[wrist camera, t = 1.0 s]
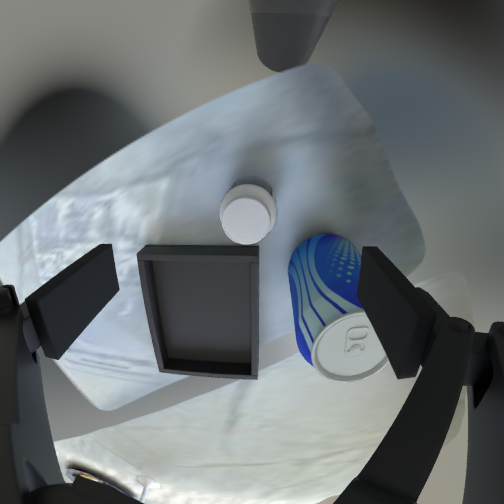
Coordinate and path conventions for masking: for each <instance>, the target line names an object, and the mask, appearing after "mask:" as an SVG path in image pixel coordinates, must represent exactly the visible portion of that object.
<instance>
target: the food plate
mask: <svg viewBox="0 0 504 504" xmlns="http://www.w3.org/2000/svg"><path fill="white" fill-rule="evenodd" d="M66 475H67V476H68V477H69V478H70V479H71V480H72V481H73V482H74V480H75V477H76V475H80V476H83V477H85V478H88V479H91V480H94V481H97V482H100V483H103V484H106V485H109V486H112V487H114V488H116V487H115V486H113V485H112V484H109V483H108V482H106V481H104V480H102V479H100V478H97V477H96V476H93V475H91V474H89V473H87V472H82V471H78V470H74V469H68V470H67V473H66ZM116 489H117V490H119V491H121V490H120V489H118V488H116ZM121 492H122V491H121ZM123 493H124V492H123ZM125 494H126V493H125ZM126 495H127V494H126ZM128 496H129V495H128Z"/></svg>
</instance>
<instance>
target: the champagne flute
mask: <svg viewBox="0 0 504 504" xmlns="http://www.w3.org/2000/svg"><path fill="white" fill-rule="evenodd" d="M136 480H137V481H138V482H139V483H140V484H141V485H143V486H144V488H143V491H142V494H141V498H140V502H142V503H144V500H145V497H146V493H147V490H148V488H156V487H159V486H160V485H159V484H158V483H157V482H156V481H154V480H152V479H150V478H147V477H142V476H137V477H136Z"/></svg>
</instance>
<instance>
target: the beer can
mask: <svg viewBox="0 0 504 504" xmlns="http://www.w3.org/2000/svg"><path fill="white" fill-rule="evenodd" d="M361 257H362V256H361V254H360V253H359V252H358V251H357V249H356V248H355V247H354V245H353V244H352V243H351V242H350V241H348V240H347V239H345V238H343V237H341V236H339V235H335V234H319V235H316V236H313V237H310V238H308V239H307V240H305V241H304V242H302V243H301V244H300V245H299V246H298V247H297V248H296V250H295V251H294V253H293V254H292V256H291V259H290V262H289V267H288V275H289V283H290V291H291V299H292V307H293V315H294V324H295V332H296V340H297V345H298V348H299V351H300V353H301V354H302V356H303V357H304V358H305V360H306V361H307V362H308V363H310V364H311V365H312V366H314V368H315V369H316V371H317V372H318V373H319V374H320V375H321V376H323V377H324V378H326V379H328V380H331V381H334V382H341V383H350V382H356V381H360V380H363V379H366V378H368V377H371V376H372V375H374V374H376V373H377V372H379V371H380V370H381V369H383V368H384V367H385V366H386V365H387V364H388V363H389V359H388V357H387V355H386V353H385V351H384V349H383V347H382V345H381V343H380V341H379V339H378V337H377V335H376V333H375V331H374V329H373V327H372V325H371V323H370V321H369V319H368V317H367V315H366V313H365V311H364V309H363V307H362V305H361V303H360V302H359V300H358V298H357V296H356V294H357V287H358V280H359V273H360V265H361Z"/></svg>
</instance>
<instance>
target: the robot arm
mask: <svg viewBox="0 0 504 504" xmlns="http://www.w3.org/2000/svg"><path fill="white" fill-rule="evenodd" d="M118 291H119V284H118V279H117V274H116V268H115V262H114V256H113V250H112V244H100V245H98V246H97V247H95V248H94V249H92V250H91V251H89V252H88V253H86V254H85V255H84V256H82V257H81V258H79V259H78V260H76V261H75V262H74V263H72V264H71V265H69V266H68V267H67V268H65V269H64V270H63V271H61V272H60V273H58V274H57V275H56V276H54V277H53V278H52V279H50V280H49V281H48V282H46V283H45V284H44V285H42V286H41V287H40V288H38V289H37V290H36V291H35V292H33V293H32V294H31V295H29V296H28V297H27V298H26V299H25V301H24V302H23V303H22V304H21V305H20V304H19V301H18V298H17V295H16V292H15V288H14V286H13V285H3V286H0V504H144V503H142V502H140V501H138V500H136V499H134V498H132V497H130V496H128V495H126V494H125V493H123V492H121V491H119V490H117V489H116V488H114V487H112V486H109V485H106V484H103V483H100V482H97V481H94V480H91V479H88V478H85V477H83V476H80V475H76V477H75V480H74V482H73V483H65V481H64V479H63V476H62V473H61V470H60V466H59V463H58V459H57V456H56V452H55V448H54V444H53V440H52V435H51V431H50V426H49V421H48V416H47V411H46V405H45V399H44V392H43V384H42V377H41V368H40V357H39V355H38V352H37V349H38V348H39V347H40V346H42V349H43V351H44V354H45V356H46V357H49V358H52V359H56V360H59V359H60V358H61V356H62V355H63V354H64V353H65V352H66V350H67V349H68V348H69V347H70V346H71V344H72V343H73V342H74V341H75V340H76V339H77V337H78V336H79V335H80V334H81V333H82V332H83V330H84V329H85V328H86V327H87V326H88V325H89V323H90V322H91V321H92V320H93V319H94V318H95V317H96V315H97V314H98V313H99V312H100V311H101V310H102V309H103V308H104V307H105V305H106V304H107V303H108V302H109V301H110V300H111V299H112V298H113V297H114V296H115V294H116V293H117V292H118ZM356 296H357V298H358V300H359V302H360V303H361V305H362V307H363V309H364V311H365V313H366V315H367V317H368V319H369V321H370V323H371V325H372V327H373V329H374V331H375V333H376V335H377V337H378V339H379V341H380V343H381V345H382V347H383V349H384V351H385V353H386V355H387V357H388V359H389V362H390V364H391V366H392V368H393V370H394V372H395V374H396V376H397V379H403V378H411V377H416V374H417V372H418V369H419V367H420V364H421V366H422V367H423V368H422V370H421V372H420V374H419V376H418V378H417V380H416V382H415V384H414V386H413V388H412V390H411V392H410V394H409V396H408V398H407V399H406V401H405V403H404V405H403V407H402V409H401V410H400V412H399V414H398V416H397V417H396V419H395V421H394V422H393V424H392V426H391V427H390V429H389V431H388V432H387V434H386V435H385V437H384V439H383V440H382V442H381V443H380V445H379V446H378V448H377V449H376V451H375V452H374V454H373V455H372V457H371V458H370V460H369V461H368V462H367V464H366V465H365V467H364V468H363V469H362V471H361V472H360V473H359V475H358V476H357V477H356V478H354V479H353V480H352V481H351V483H350V484H349V485H348V486H347V487H346V489H345V490H344V491H343V492H342V494H341V495H340V496H339V497H338V499H337V500H336V501H335V502H334V503H333V504H417V503H416V502H417V499H418V497H419V495H420V493H421V491H422V489H423V487H424V485H425V483H426V481H427V479H428V477H429V475H430V473H431V471H432V469H433V466H434V464H435V462H436V460H437V457H438V455H439V453H440V450H441V448H442V445H443V443H444V440H445V438H446V435H447V432H448V430H449V427H450V424H451V421H452V418H453V415H454V412H455V409H456V406H457V403H458V400H459V397H460V393H461V390H462V386H467V396H468V454H467V469H466V480H465V489H464V497H463V504H504V322H494V323H493V324H492V325H491V328H490V330H489V333H481V332H475V329H474V327H473V325H472V324H471V323H469V322H468V321H466V320H464V319H462V318H458V317H450V316H449V315H448V314H447V313H446V312H445V311H444V310H443V308H442V307H441V306H440V305H438V303H437V302H436V301H435V300H434V298H433V297H432V296H431V295H430V294H429V293H428V292H426V291H424V290H423V289H421V288H419V287H417V288H415V287H414V286H413V285H412V284H411V283H410V282H409V280H408V279H407V278H406V277H405V276H404V275H403V274H402V273H401V272H400V271H399V269H398V268H397V267H396V266H395V265H394V264H393V263H392V262H391V261H390V260H389V259H388V258H387V257H386V256H385V255H384V254H383V253H382V252H381V251H380V250H379V249H378V247H371V246H363V249H362V257H361V265H360V273H359V280H358V287H357V294H356Z"/></svg>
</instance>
